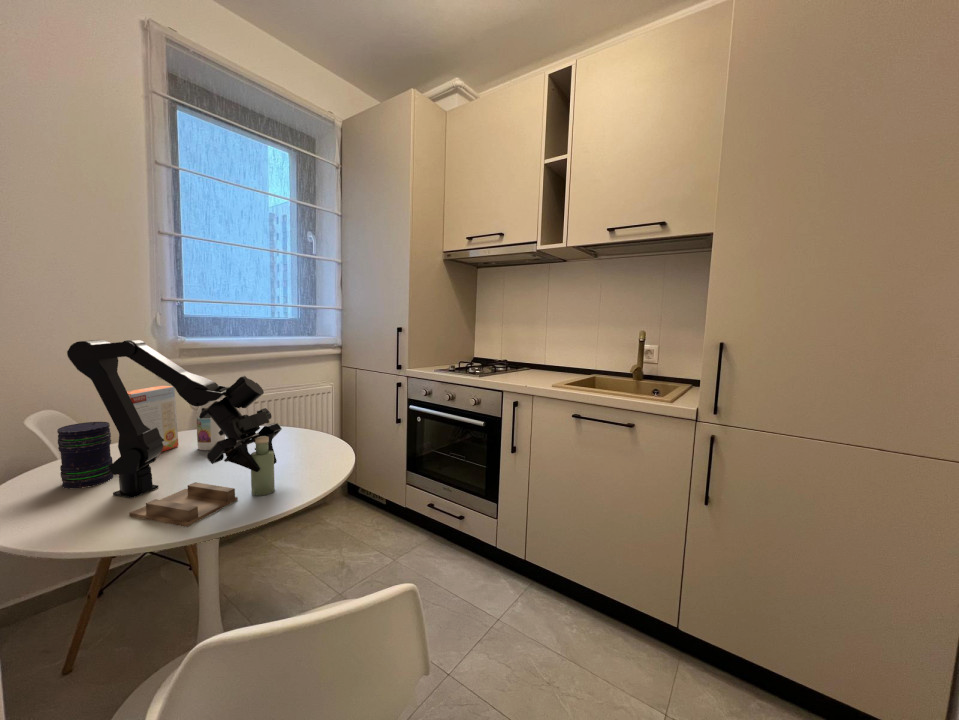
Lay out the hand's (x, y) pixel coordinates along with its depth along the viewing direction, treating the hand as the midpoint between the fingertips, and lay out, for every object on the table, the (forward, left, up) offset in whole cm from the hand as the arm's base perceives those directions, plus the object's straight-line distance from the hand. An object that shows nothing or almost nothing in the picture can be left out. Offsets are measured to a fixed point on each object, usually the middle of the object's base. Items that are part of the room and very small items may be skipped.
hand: (267, 466), depth 99 cm
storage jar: (-49, -8, -7) cm, 51 cm away
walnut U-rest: (-13, -12, -7) cm, 19 cm away
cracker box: (-56, +13, -7) cm, 58 cm away
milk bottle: (-43, +23, -7) cm, 50 cm away
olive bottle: (-1, 0, -7) cm, 7 cm away
